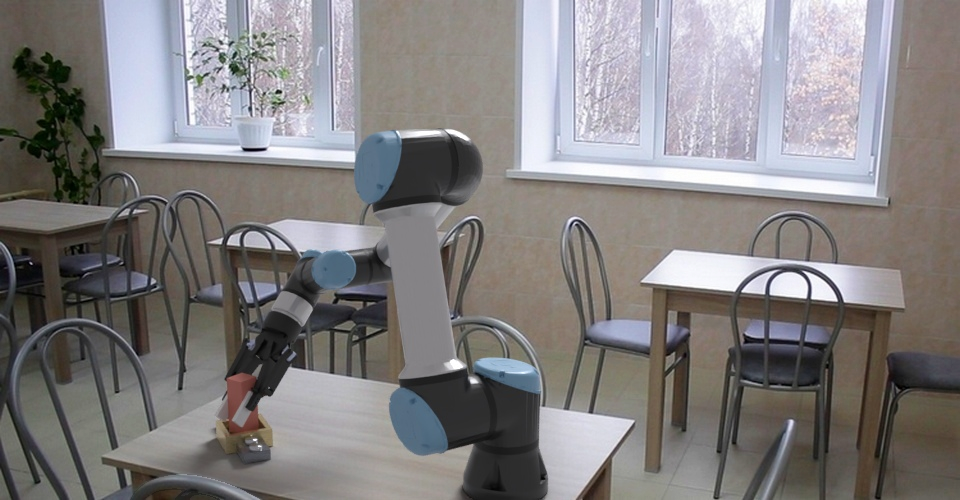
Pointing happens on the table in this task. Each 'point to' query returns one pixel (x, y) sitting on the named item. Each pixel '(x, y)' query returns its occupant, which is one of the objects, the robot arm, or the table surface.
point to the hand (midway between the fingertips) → (228, 421)
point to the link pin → (240, 401)
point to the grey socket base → (246, 441)
